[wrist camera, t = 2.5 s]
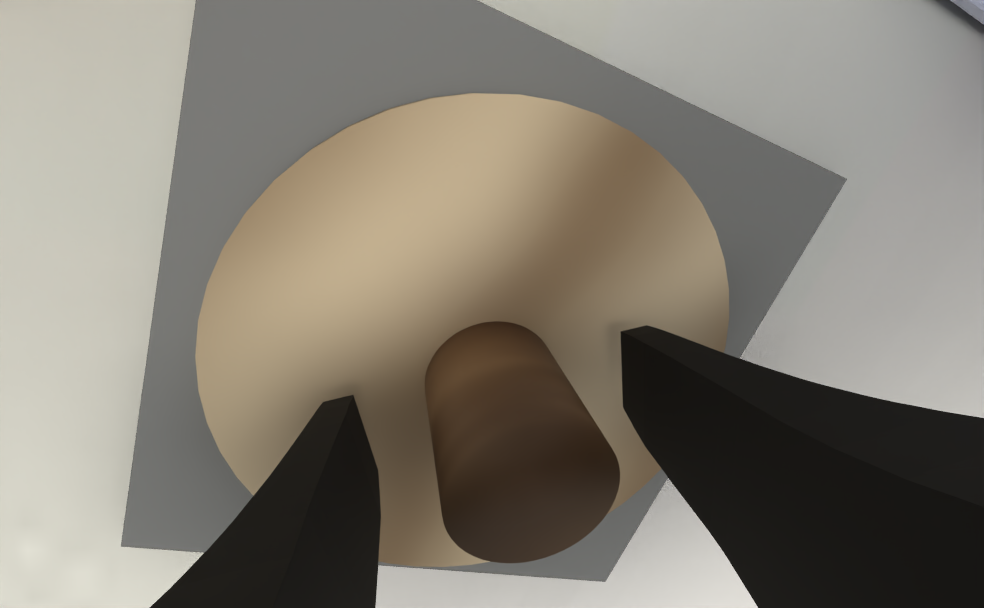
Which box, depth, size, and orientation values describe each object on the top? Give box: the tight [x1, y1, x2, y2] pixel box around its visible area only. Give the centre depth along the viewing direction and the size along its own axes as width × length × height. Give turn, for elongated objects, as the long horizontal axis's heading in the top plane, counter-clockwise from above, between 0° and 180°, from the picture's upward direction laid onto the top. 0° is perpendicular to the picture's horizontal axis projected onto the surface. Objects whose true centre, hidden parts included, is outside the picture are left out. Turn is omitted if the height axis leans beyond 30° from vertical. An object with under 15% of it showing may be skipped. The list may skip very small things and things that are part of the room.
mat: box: [121, 0, 847, 582], centre depth 12 cm, size 14×14×1 cm
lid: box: [195, 93, 729, 567], centre depth 10 cm, size 12×12×4 cm
